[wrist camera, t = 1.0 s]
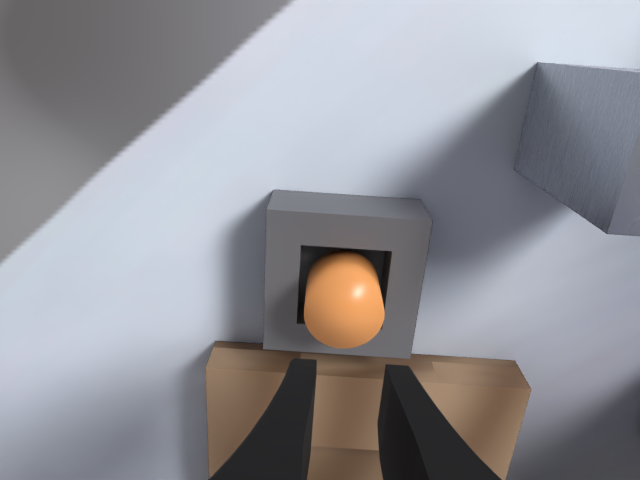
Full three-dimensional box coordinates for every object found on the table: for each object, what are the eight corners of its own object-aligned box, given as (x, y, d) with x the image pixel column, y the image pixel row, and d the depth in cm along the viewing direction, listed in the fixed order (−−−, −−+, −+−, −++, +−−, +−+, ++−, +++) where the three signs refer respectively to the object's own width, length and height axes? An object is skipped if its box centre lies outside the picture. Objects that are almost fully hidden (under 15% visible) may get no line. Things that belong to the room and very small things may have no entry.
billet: (646, 69, 18) (827, 86, 11) (613, 175, 19) (757, 244, 13) (537, 62, 18) (656, 74, 11) (513, 169, 19) (607, 233, 13)
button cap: (382, 252, 18) (389, 281, 16) (374, 315, 20) (380, 351, 17) (308, 247, 18) (306, 276, 16) (305, 311, 20) (301, 345, 17)
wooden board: (514, 360, 23) (531, 389, 21) (462, 561, 28) (471, 598, 26) (215, 340, 23) (205, 367, 21) (219, 546, 28) (212, 581, 26)
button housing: (420, 199, 20) (432, 220, 17) (401, 325, 22) (410, 358, 20) (273, 189, 20) (266, 209, 17) (270, 316, 22) (263, 349, 20)
